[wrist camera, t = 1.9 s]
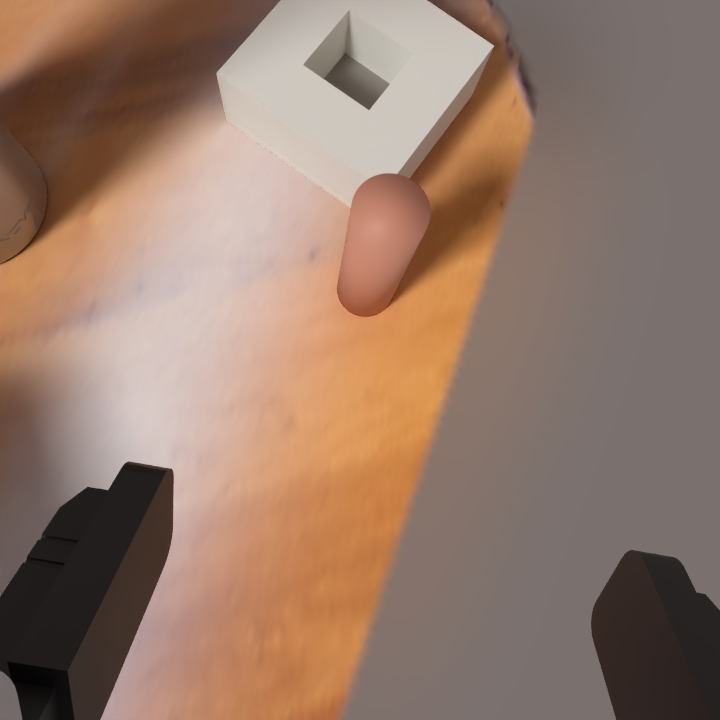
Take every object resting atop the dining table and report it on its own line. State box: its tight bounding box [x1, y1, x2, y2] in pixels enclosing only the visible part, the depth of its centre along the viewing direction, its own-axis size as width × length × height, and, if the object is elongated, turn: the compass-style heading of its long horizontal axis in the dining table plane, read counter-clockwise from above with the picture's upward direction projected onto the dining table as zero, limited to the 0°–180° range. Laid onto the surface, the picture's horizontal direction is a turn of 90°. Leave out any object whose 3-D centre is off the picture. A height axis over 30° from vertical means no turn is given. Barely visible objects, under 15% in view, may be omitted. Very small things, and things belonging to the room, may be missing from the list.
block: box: [216, 0, 494, 208], centre depth 39 cm, size 12×12×5 cm
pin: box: [337, 173, 431, 317], centre depth 33 cm, size 4×4×12 cm
